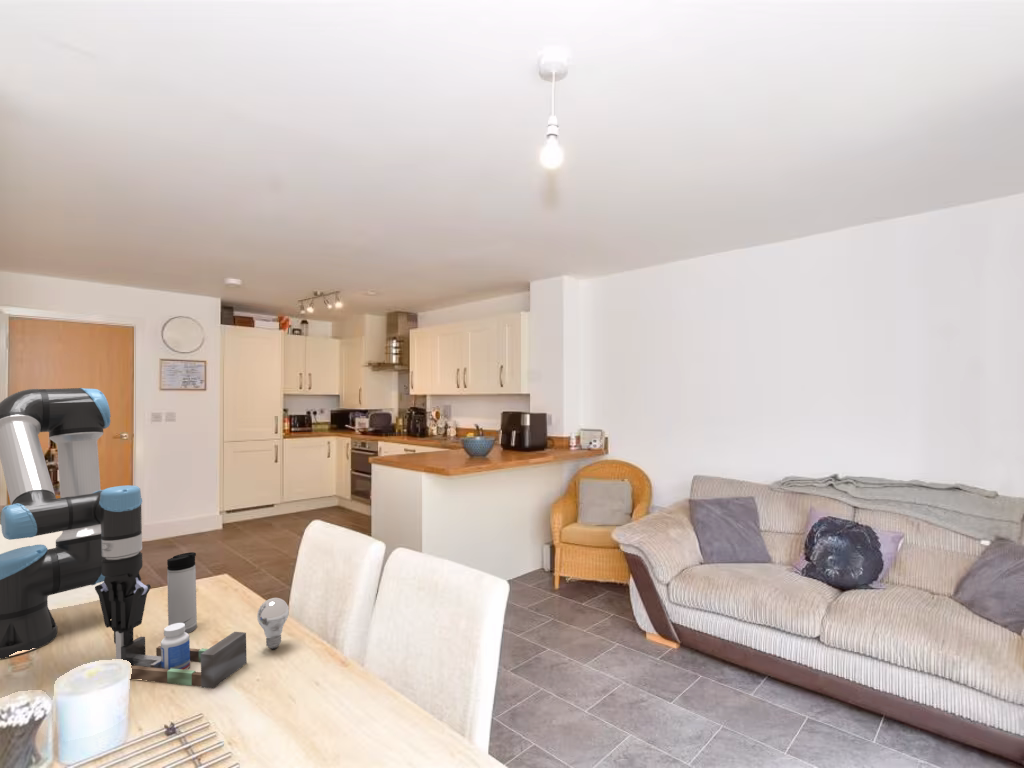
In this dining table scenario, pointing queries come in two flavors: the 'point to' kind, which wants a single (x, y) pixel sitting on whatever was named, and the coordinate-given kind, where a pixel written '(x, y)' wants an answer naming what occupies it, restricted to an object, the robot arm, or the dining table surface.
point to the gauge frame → (202, 664)
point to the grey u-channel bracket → (139, 654)
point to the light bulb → (273, 620)
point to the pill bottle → (175, 647)
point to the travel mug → (182, 590)
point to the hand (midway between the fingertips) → (124, 657)
